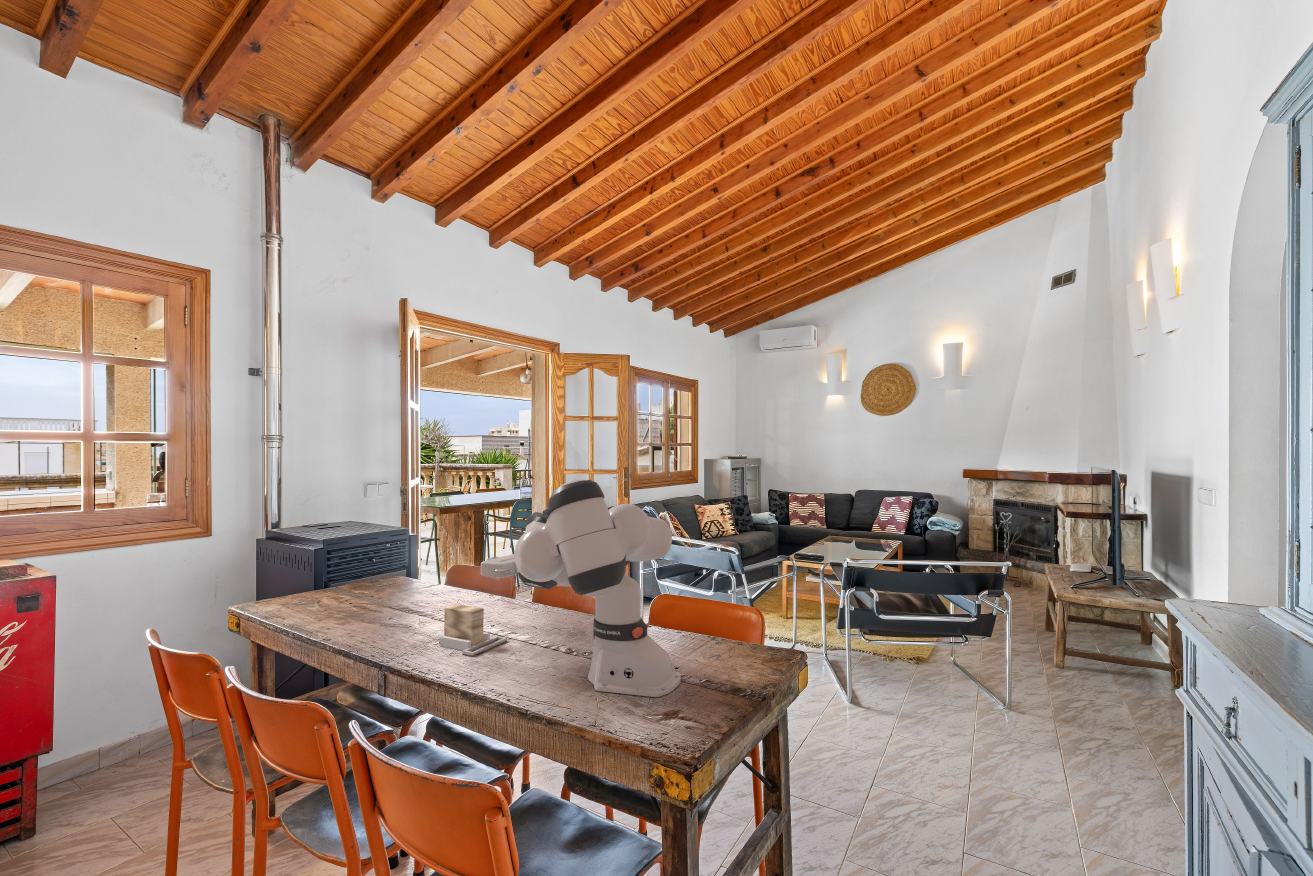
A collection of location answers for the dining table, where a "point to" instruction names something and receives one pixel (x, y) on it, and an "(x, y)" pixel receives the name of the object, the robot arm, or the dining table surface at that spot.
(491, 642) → the trap slot
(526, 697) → the dining table surface
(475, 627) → the birch block
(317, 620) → the dining table surface
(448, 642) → the white flat piece
